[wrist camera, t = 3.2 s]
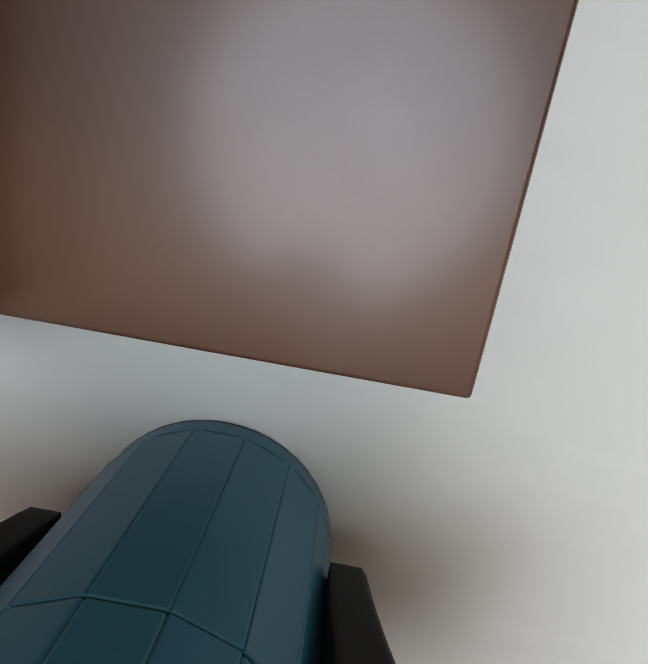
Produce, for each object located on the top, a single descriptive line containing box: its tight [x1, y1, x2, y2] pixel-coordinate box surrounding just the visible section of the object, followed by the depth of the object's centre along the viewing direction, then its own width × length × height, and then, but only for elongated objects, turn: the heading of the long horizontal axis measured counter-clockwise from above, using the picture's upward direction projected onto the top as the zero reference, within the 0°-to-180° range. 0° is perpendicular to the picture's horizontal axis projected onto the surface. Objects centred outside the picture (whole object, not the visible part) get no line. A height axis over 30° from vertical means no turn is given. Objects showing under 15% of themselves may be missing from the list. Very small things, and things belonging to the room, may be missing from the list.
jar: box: [0, 421, 330, 664], centre depth 9 cm, size 5×5×6 cm
